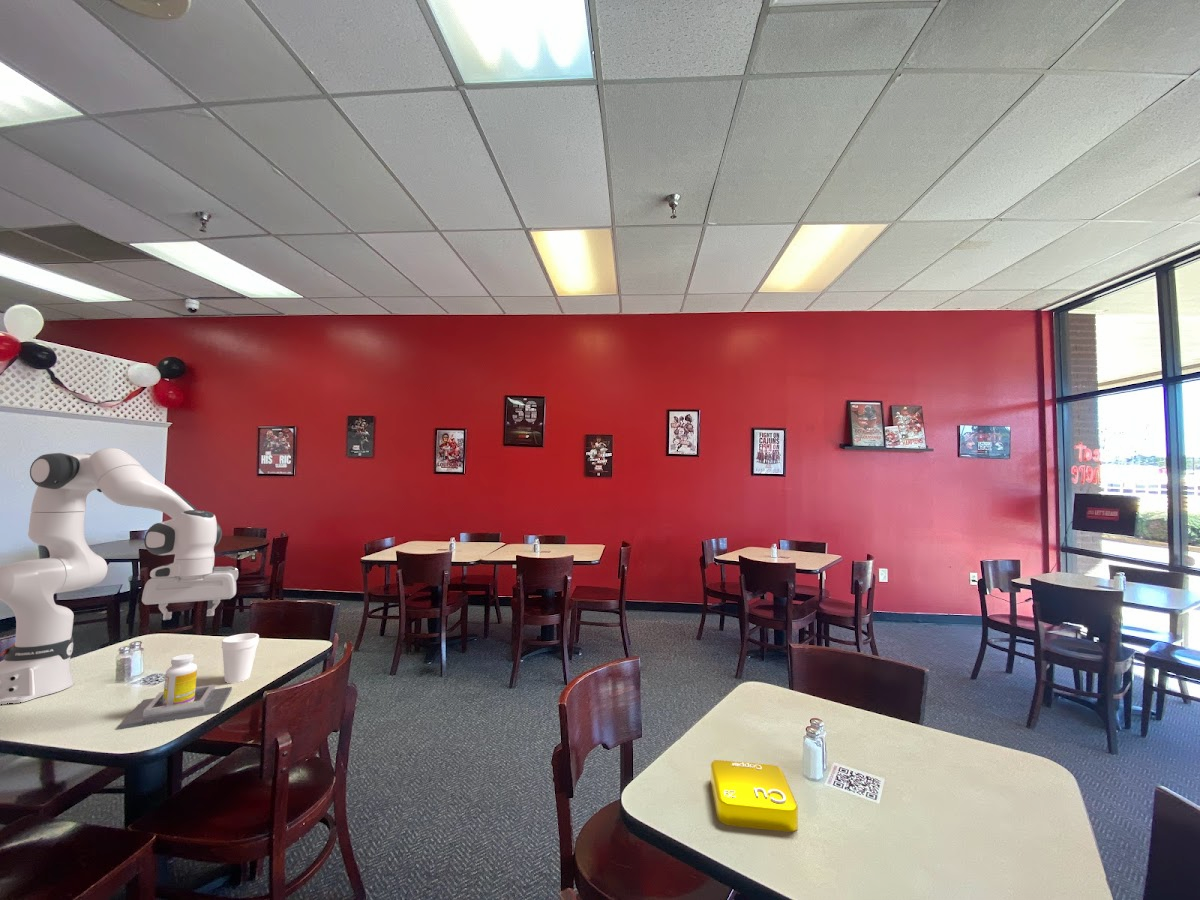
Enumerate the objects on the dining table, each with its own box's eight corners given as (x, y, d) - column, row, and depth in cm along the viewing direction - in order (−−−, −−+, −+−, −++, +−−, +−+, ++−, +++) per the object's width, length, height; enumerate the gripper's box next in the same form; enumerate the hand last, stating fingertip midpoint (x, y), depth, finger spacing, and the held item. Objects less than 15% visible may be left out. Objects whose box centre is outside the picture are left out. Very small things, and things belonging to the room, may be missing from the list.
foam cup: (216, 687, 143) (220, 644, 144) (220, 677, 151) (223, 636, 152) (254, 681, 149) (258, 639, 150) (256, 671, 156) (259, 631, 157)
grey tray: (119, 729, 118) (120, 716, 119) (143, 703, 132) (144, 692, 133) (219, 712, 128) (220, 701, 128) (231, 690, 142) (232, 679, 142)
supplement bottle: (200, 699, 133) (204, 652, 134) (180, 710, 127) (185, 661, 128) (176, 699, 133) (181, 652, 134) (155, 710, 127) (160, 661, 128)
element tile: (780, 785, 102) (780, 762, 102) (801, 835, 87) (800, 808, 87) (709, 778, 103) (709, 756, 104) (718, 826, 89) (718, 800, 89)
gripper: (241, 564, 141) (237, 611, 140) (150, 568, 131) (145, 618, 130) (237, 567, 136) (232, 616, 135) (142, 571, 126) (136, 624, 125)
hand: (189, 617), depth 132 cm, fingers open, 8 cm apart
